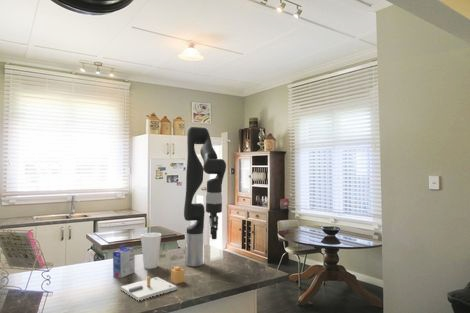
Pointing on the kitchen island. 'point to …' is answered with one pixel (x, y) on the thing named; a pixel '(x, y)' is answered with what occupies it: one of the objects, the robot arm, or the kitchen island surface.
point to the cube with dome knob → (177, 275)
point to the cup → (150, 249)
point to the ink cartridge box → (123, 262)
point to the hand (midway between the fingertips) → (213, 236)
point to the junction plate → (148, 288)
